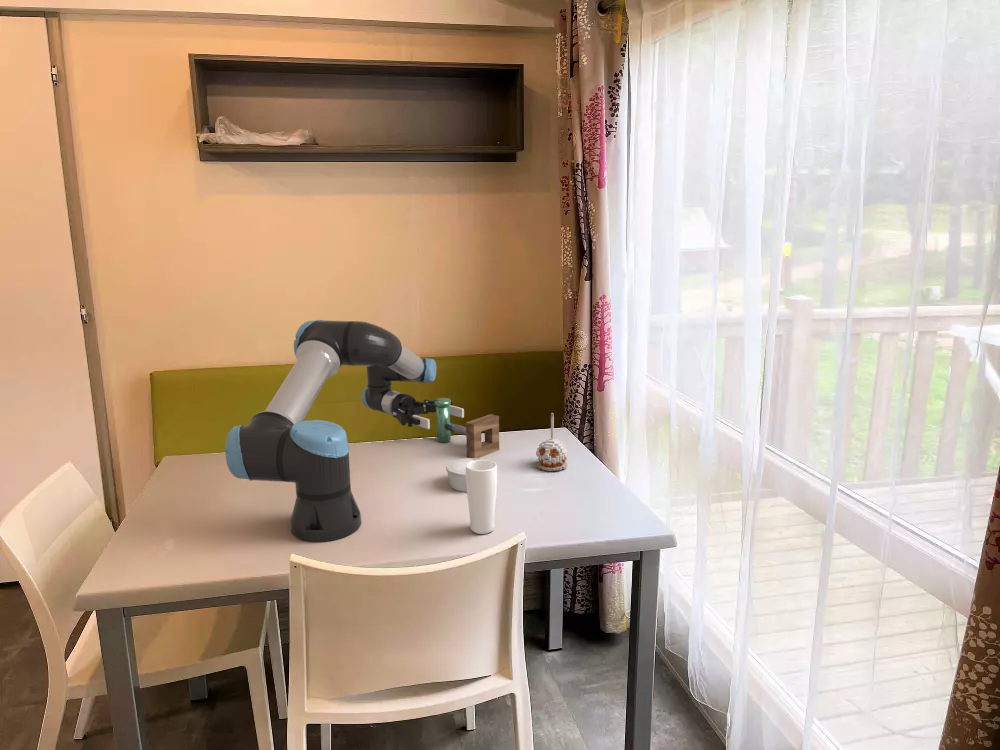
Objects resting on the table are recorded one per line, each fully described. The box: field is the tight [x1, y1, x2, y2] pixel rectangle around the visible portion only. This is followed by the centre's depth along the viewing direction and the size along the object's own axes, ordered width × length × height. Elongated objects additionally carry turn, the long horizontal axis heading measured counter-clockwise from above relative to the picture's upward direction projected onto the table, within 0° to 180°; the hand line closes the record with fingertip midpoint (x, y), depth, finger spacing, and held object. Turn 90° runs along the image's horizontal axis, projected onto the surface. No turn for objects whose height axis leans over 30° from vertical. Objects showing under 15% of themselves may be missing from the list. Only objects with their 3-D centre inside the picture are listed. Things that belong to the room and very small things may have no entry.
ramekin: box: [445, 457, 482, 493], centre depth 183 cm, size 11×11×5 cm
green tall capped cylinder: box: [433, 397, 466, 443], centre depth 211 cm, size 15×5×12 cm, turn 47°
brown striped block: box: [465, 413, 500, 459], centre depth 204 cm, size 3×10×10 cm, turn 137°
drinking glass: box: [466, 459, 498, 535], centre depth 158 cm, size 7×7×15 cm
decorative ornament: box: [535, 412, 568, 472], centre depth 193 cm, size 8×8×15 cm
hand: (446, 418), depth 214 cm, fingers open, 13 cm apart
